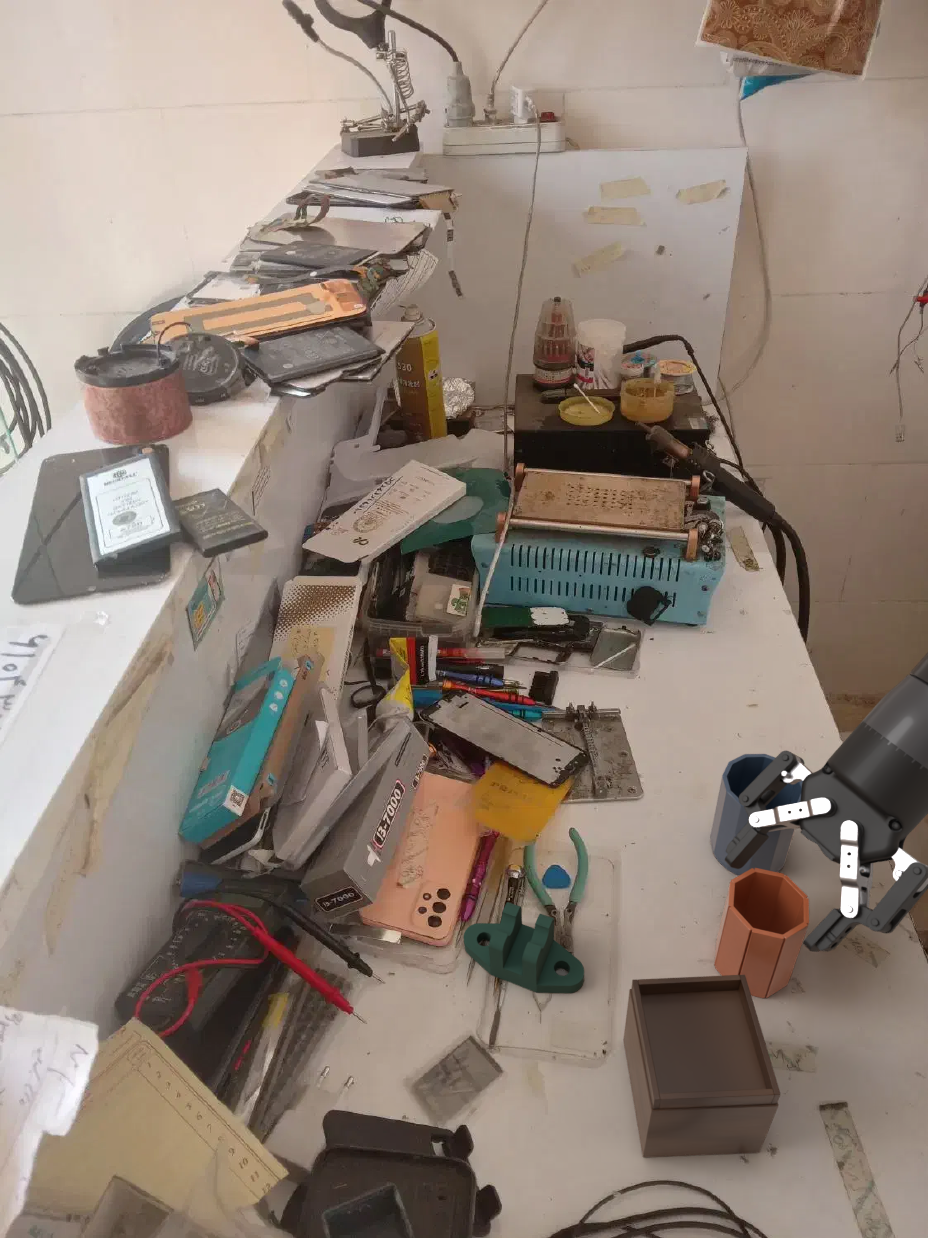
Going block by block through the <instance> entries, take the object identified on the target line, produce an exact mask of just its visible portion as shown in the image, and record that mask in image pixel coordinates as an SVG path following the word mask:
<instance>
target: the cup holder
mask: <svg viewBox="0 0 928 1238" xmlns="http://www.w3.org/2000/svg"><path fill="white" fill-rule="evenodd" d="M625 1017H626V1018H625V1025H624V1033H623V1045H624V1051H625V1052H624V1053H625V1058H626V1063H627V1064H626V1065H627V1070H628V1075H629V1082H630V1083H629V1084H630V1088H631V1093H632V1100H633V1101H632V1102H633V1106H634V1113H635V1119H636V1125H637V1130H638V1138H639V1143H640V1149H641V1155H642V1157H643V1158H658V1157H659V1158H661V1157H685V1156H686V1157H687V1156H708V1155H735V1154H758V1153H760V1152H761V1150H762V1147H763V1145H764V1142H765V1140H766V1138H767V1135H768V1134H769V1130H770V1129H771V1128H770V1127H771V1125H772V1123H773V1121H774V1118H775V1115H776V1113H777V1111H778V1108H779V1100H780V1097H781V1091H780V1088H779V1084H778V1081H777V1077H776V1075H775V1071H774V1067H773V1064H772V1061H771V1057H770V1054H769V1050H768V1046H767V1044H766V1040H765V1037H764V1034H763V1029H762V1028H761V1027H762V1026H761V1023H760V1020H759V1017H758V1014H757V1010H756V1007H755V1004H754V1001H753V996H752V995H751V993H750V990H749V986H748V983H747V980H746V976H745V975H724V976H722V975H708V976H707V975H706V976H705V975H704V976H684V977H683V976H681V977H663V978H661V977H659V978H641V979H632V981H631V988H629V990H628V1000H627V1008H626V1016H625Z"/></svg>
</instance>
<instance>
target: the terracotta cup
mask: <svg viewBox="0 0 928 1238" xmlns="http://www.w3.org/2000/svg"><path fill="white" fill-rule="evenodd" d="M809 925H810V899H809V897H808V895H807V894H806V893H805V892H804V891H803V889H801V888H800V887H799V886H798V884H796V883H795V882H794V881H793V880H792V879H791V878H790V877H789V875H787V874H786V875H785V873H782V872H773V871H768V870H763V869H759V868H755V869H753V868H752V869H750V870H748V871H746V872H745V873H743V874H741V875H736V877H733V878H732V879H731V880H730V881H729V884H728V889H727V893H726V896H725V902H724V906H723V910H722V915H721V919H720V922H719V927H718V932H717V937H716V941H715V948H714V949H715V950H714V951H715V952H714V961H713V962H714V964H713V965H714V968H715V969H716V971H717V972H718V973H719V974H720V976H724V975H745V976H746V980H747V983H748V986H749V990H750V993H751V997H756V998H760V999H765V998H766V999H768V998H769V997H771V996H772V995H774V994H776V993H778V992H779V991H781V990H782V989H784V988H785V987H787V986H788V984H789V983H790V980H791V977H792V974H793V970H794V968H795V965H796V963H797V961H798V960H797V959H798V957H799V954H800V950H801V948H802V945H803V942H804V940H805V937H806V934H807V931H808V928H809Z"/></svg>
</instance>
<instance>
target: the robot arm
mask: <svg viewBox="0 0 928 1238" xmlns="http://www.w3.org/2000/svg"><path fill="white" fill-rule="evenodd" d="M799 781H803V782H802V789H801V801H800V803H794V804H789V805H784V806H778V807H775V808H774V809H770V810H767V809H766V807H765V806H766V805H767V804H768V803H769V802H770V801H771V800H772V799H773V798H774V797H775V796H776V795H777V794H778V793H779V792H780V791H781V790H782V789H783V788H784V787H785V786H786V785H787V784H791V785H794V784H796V783H797V782H799ZM739 803H740V804H741V805H742V806H744V808H745V810H746V812H747V815H748V821H747V823H746V825H745V826H744V827H743V828H742V829H741V830H740V832H739V833H738V834H737V835H736V837H734V839H733V840H732V841H731V842H730V843H729V844H728V846H727V849H726V852H727V854H728V855H727V856H726V858H725V861H726V862H727V863H728V865H729V866H730V867H732V868H736V869H740V868H742V867H743V866H744V865H745V864H746V863H747V862H748V861H749V859H750V858H751V857H752V856H753V855H754V854H755V853H756V851H757V850H758V849H759V848H760V847H761V846H762V845H763V844H764V842H765V841H766V840H767V839H768V838H769V836H768V835H767V833H768V832H771V831H776V830H782V829H789V828H792V829H795V828H796V829H800V830H801V831H800V834H801V835H803V836H804V837H805V838H806V839H807V840H808V841H810V842H812V843H814V844H816V845H817V847H818V848H819V849H820V851H821V852H822V853H823V855H824V856H825V857H826V858H827V859H829V860H830V862H833V863H836V864H838V865H839V881H840V884H841V890H840V891H841V895H840V907H839V908H835V907H833V908H832V909H831V911H830V912H829V913H828V914H827V915H826V916H825V917H824V918H823V919H822V920H821V922H819V924H818V925H817V926H816V927H815V928H814V929H813V930H812V931H811V932H810V933H809V934H808V936H806V938H804V940H803V943H802V945H804V946H805V948H807V949H808V951H810V952H814V953H818V952H825V953H826V952H827V953H828V952H831V951H834V950H835V949H836V948H837V947H838V946H839V945H840V944H841V942H843V940H844V939H845V938H846V937H847V936H848V935H849V934H850V933H851V932H852V931H853V930H854V929H855V928H856V927H857V926H859V925H863V926H864V927H866V928H868V929H869V930H871V931H872V932H878V933H882V934H891V933H893V932H894V931H895V929H896V928H897V927H898V926H899V925H900V923H901V922H902V921H903V920H904V918H906V916H907V915H908V914H909V912H910V911H911V910H912V909H913V908H914V906H915V905H916V904H917V903H918V901H919V900H920V899H921V898H922V896H923V895H924V894H925V893H927V890H928V865H927V864H925V863H923V862H921V861H919V860H918V859H916V858H915V857H914V856H912V855H911V853H908V852H907V851H906V850H905V849H904V845H905V841H906V839H907V837H908V835H909V834H911V833H912V831H913V830H914V829H915V828H916V827H917V826H918V825H919V824H920V823H921V822H922V821H923V820H924V819H925V817H927V816H928V651H927V652H926V653H925V655H924V656H922V658H921V659H920V660H919V661H918V662H917V664H916V665H915V666H914V667H913V668H912V669H911V670H910V672H909V674H907V675H906V676H904V678H903V679H902V680H901V681H899V682H898V683H897V684H896V685H895V686H893V688H891V689H890V690H889V691H888V692H887V693H886V694H885V695H884V696H883V697H882V698H881V699H880V700H879V701H878V702H877V703H876V704H875V706H874V707H873V708H872V709H871V710H870V711H869V712H868V714H866V715H865V717H864V718H863V719H862V720H861V722H859V724H858V725H857V726H856V727H855V728H854V729H853V731H852V732H851V733H850V734H849V735H848V736H847V737H846V739H844V740H843V742H842V743H841V744H840V746H839V747H838V748H837V749H836V750H835V751H834V752H833V753H832V755H831V756H829V758H828V759H827V760H826V762H825V764H824V765H823V766H822V767H821V768H820V769H818V770H817V771H812V770H811V769H810V768H808V767H807V765H805V760H804V759H803V758H802V757H800V756H799V755H796V754H795V753H793V752H791V751H789V750H782V751H780V753H778V755H777V756H775V759H774V760H773V761H772V762H771V763H770V764H769V765H768V766H767V767H766V768H765V769H764V770H763V771H762V772H761V773H760V774H759V775H758V776H757V778H756V779H755V780H754V781H753V782H752V783H751V784H750V785H749V786H748V787H747V788H746V789H745V790H744V791H743V792H742V793H741V794H740V795H739ZM889 861H893V862H894V864H895V865H894V866H895V867H894V869H893V871H892V877H893V879H894V881H895V882H894V883H893V884H892V885H891V887H890V888H889V890H888V891H887V892H886V893H885V894H884V896H883V897H882V898H881V900H879V902H878V903H877V904H876V905H875V907H874V908H873V909H872V908H870V899H871V896H870V895H871V890H872V887H873V877H874V876H873V875H874V864H876V863H882V862H889Z"/></svg>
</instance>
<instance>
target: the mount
mask: <svg viewBox="0 0 928 1238" xmlns="http://www.w3.org/2000/svg"><path fill="white" fill-rule="evenodd" d="M522 909H523V907H522V906H520V905H517V904H514V903H512V902H510V901H507V902H506V903H505V905H504V907H503V910H502V913H501V919H500V922H499V923H497V922H496V923H494V922H491V923H490V922H487V923H486V922H477V923H473V924H471V925H469V926H468V927H467V928H466V929H465V930H464V933H463V945H464V946H463V947H464V950H465V952H466V953H467V955H468V956H469V957H470V958H471V959H472V960H474V961H475V962H476V963H477V964H478V965H480V967H481V968H483V970H485V971H486V972H487V973H488V974H489V975H491V976H492V977H496V978H497V979H500V980H503V981H505V982H508V983H511V984H513V985H516V986H518V987H520V988H523V989H526V990H529V991H531V992H533V993H537V994H542V993H543V994H573V993H576V992H578V991H579V990H580V989H581V988H582V987H583V985H584V982H585V968H584V965H583V964H582V962H581V960H580V959H578V957H576V956H575V955H574V954H572V952H570V951H569V950H567V949H566V948H565V947H564V946H563V945H561V944H560V943H559V942H558V941H556V940H555V918H554V917H552V916H549V915H545V914H543V913H539V914H538V916H537V918H536V921H535V923H534V927H532V926H529V925H526V924H523V915H522V914H523V913H522V912H523V911H522ZM484 940H485V941H489V943H488V945H481V944H479V943H480V942H482V941H484ZM559 969H563V970H566V971H567V974H565V975H560V974H559V973H557V970H559Z"/></svg>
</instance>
